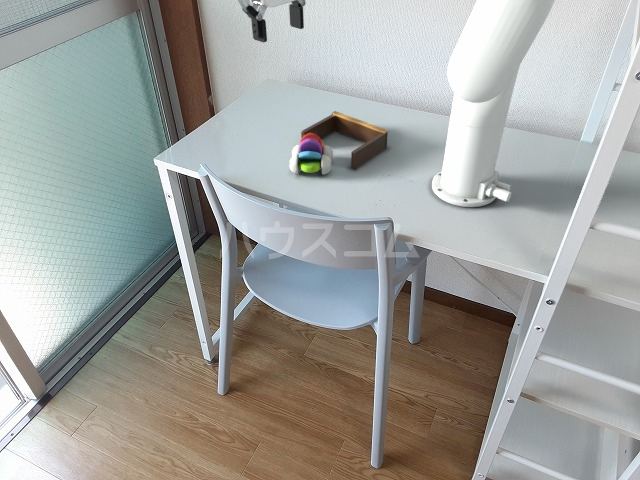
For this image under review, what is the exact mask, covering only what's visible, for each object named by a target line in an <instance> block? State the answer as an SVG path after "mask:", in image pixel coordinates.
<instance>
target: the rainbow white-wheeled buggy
mask: <svg viewBox="0 0 640 480" xmlns="http://www.w3.org/2000/svg"><path fill="white" fill-rule="evenodd" d="M333 158H334V151H333V149H332V147H331V146H329V145H327V144H324V142H323V140H322V139H320V137H319V136H318V135H316V134H314V133H308V134H306V135H304V136H303V137H302V139H301V138H300V141H299V144H296V145H295V146H294V147H293V148H292V150H291V158H290V159H289V169H290V171H291V173H293V174H294V175H299V174H300V171H302V172H304V173H309V174H310V173H311V174H312V173H316V172H319V171H321V175H323V176H324V175H327V174H329V173H330V172H331V170H332V161H333Z"/></svg>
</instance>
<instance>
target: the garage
mask: <svg viewBox="0 0 640 480" xmlns="http://www.w3.org/2000/svg"><path fill="white" fill-rule="evenodd" d="M335 132H337V133H339V134H342V135H344V136H347V137H349V138H352V139H354V140H357V141H359V142H362V143H363V144H362V145H360V146H358V147H357V148H355V149H353V150H352V151H351V153H350V169H351V170H353V171H355V170H357V169H358V168H360V167H361V166H363V165H364V164H366V163H367V162H369V161H370V160H372V159H373V158H375V157H376V156H378V155H379V154H381V153H382V152H384V151H386V150H387V148H388V137H389V130H388V129H386V128H384V127H381V126H377V125H376V124H372V123H369V122H367V121H364V120H362V119H359V118H355V117H353V116H350V115H347V114H344V113H342V112H339V111H336V110H334V111H332V112H331V114H330V115H328V116H327V117H325V118H323V119H321V120H319V121H317V122H315V123H314V124H312V125H310V126H308V127H306V128H305V129H303V130H301V131H300V137H301V138H300V140H301V139H302V137H303V136H304V135H306V134H308V133H314V134H316V135H318V136H319V137H320V139H321V140H322V139H324V138H326V137H328V136H329V135H331V134H333V133H335Z"/></svg>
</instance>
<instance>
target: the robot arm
mask: <svg viewBox="0 0 640 480" xmlns="http://www.w3.org/2000/svg"><path fill="white" fill-rule="evenodd" d="M237 1H238V3H239V5H240V7H241V9H242V11H243V12H244V13H245V14H246V15H247V18H249V19H250V21H251V22H250V23H251V30H252V38H253V40H255V41H257V42H261V43H267V41H268V35H267V33H268V32H267V22H266V19H264V15H265V14H266V11H267V8H275V7H280V6H282V5H286V4H288V5H289V6H288V9H289V10H288V11H289V13H288V14H289V26H290V27H292V28H296V29H299V30H303V29H304V28H305V23H304V22H305V21H304V20H305V19H304V7H305V6H306V4H307V2H306V0H237ZM555 1H556V0H476V2H475V4H474V6H473V9H472V11H471V13H470V15H469V17H468V19H467V22H466V23H465V26H464V27H463V30H462V32H461V34H460V37H459V38H458V40H457V43H456V45H455V47H454V49H453V51H452V54H451V56H450V57H449V61H448V64H447V80H448V84H449V86H450V89H451V90H452V92H453V99H452V104H451V111H450V116H449V123H448V129H447V136H446V141H445V148H444V154H443V155H444V156H443V162H442V168H441V171H438V172H437V173H436V174H435V175H434V176H433V178H432V181H431V189H432V192H433V193H434V194H435V195H436V197H438V198H439V199H441V200H442V201H444V202H446V203H448V204H451V205H454V206H458V207H463V208H478V207H483V206H486V205H490V204H491V203H492V202H494V201H495V200H496V199H498V200H500V201H504V202H505V203H508V202H509V201H510V200H511V197H512V194H513V193H512V191H510V190H511V187H512V185H511V184H507V183H505V182H501V181H500V179H499V175H500V172H499V171H498V170H496V166H497V161H498V158H499V153H500V148H501V143H502V139H503V134H504V130H505V126H506V122H507V118H508V115H509V110H510V106H511V101H512V97H513V93H514V90H515V85H516V82H517V78H518V74H519V70H520V66H521V63H522V62H523V60H524V59H525V57H526V55H527V54H528V52H529V50H530V48H531V46H532V45H533V43H534V41H535V39H536V38H537V36H538V34H539V33H540V31H541V29H542V28H543V26H544V24H545V22H546V20H547V18H548V16H549V14H550V13H551V11H552V8H553V6H554V3H555ZM289 3H290V4H289Z"/></svg>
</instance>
